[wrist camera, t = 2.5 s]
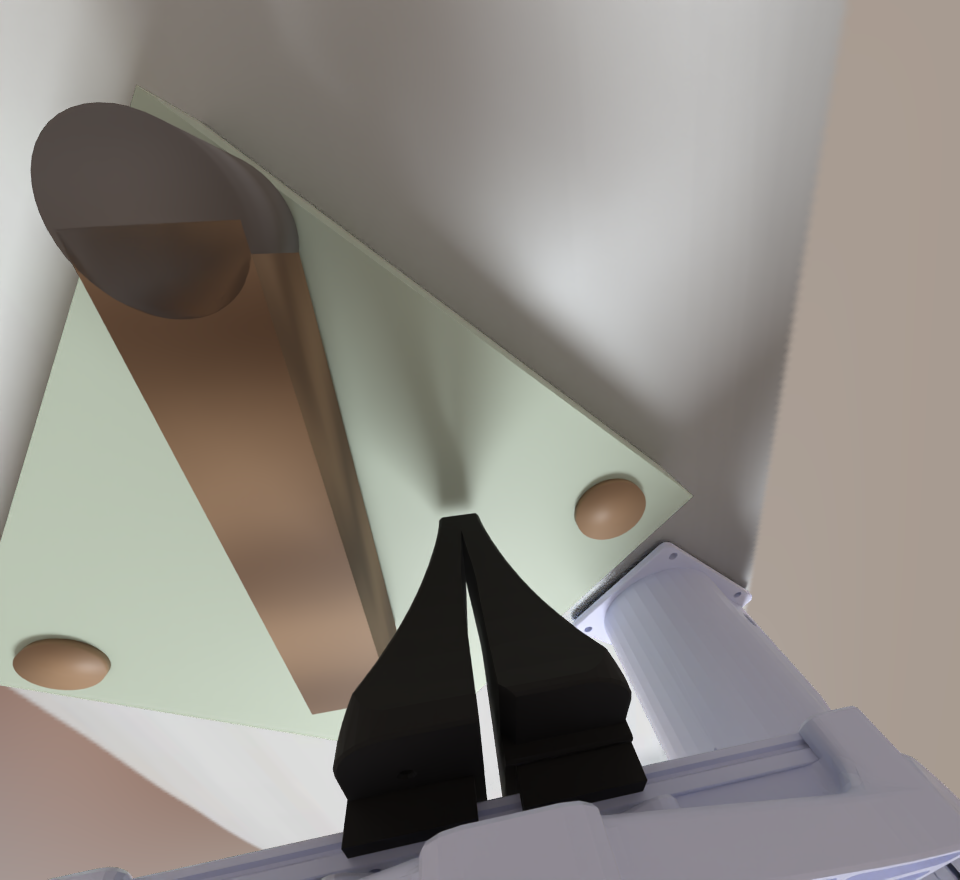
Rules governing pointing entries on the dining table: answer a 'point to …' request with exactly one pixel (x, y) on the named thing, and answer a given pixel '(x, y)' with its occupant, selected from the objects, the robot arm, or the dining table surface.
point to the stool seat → (379, 468)
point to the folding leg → (226, 370)
